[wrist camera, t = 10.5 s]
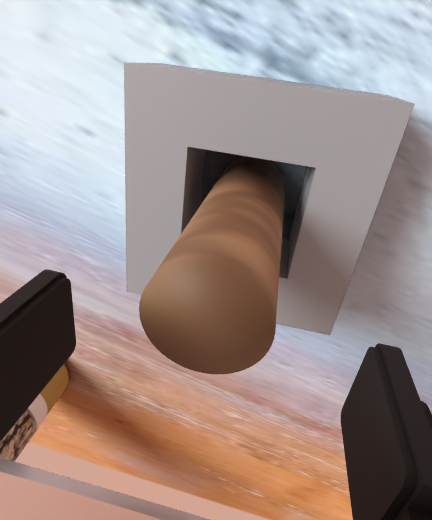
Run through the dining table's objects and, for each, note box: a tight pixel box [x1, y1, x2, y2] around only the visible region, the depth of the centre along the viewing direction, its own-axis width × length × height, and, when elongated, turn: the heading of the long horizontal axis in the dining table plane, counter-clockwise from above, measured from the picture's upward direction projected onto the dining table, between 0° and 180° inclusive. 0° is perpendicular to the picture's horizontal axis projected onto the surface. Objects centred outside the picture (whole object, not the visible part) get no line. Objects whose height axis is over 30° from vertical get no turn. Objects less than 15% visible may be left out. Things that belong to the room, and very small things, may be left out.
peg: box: [139, 156, 285, 374], centre depth 17 cm, size 4×4×14 cm
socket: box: [124, 63, 414, 335], centre depth 21 cm, size 13×13×5 cm
